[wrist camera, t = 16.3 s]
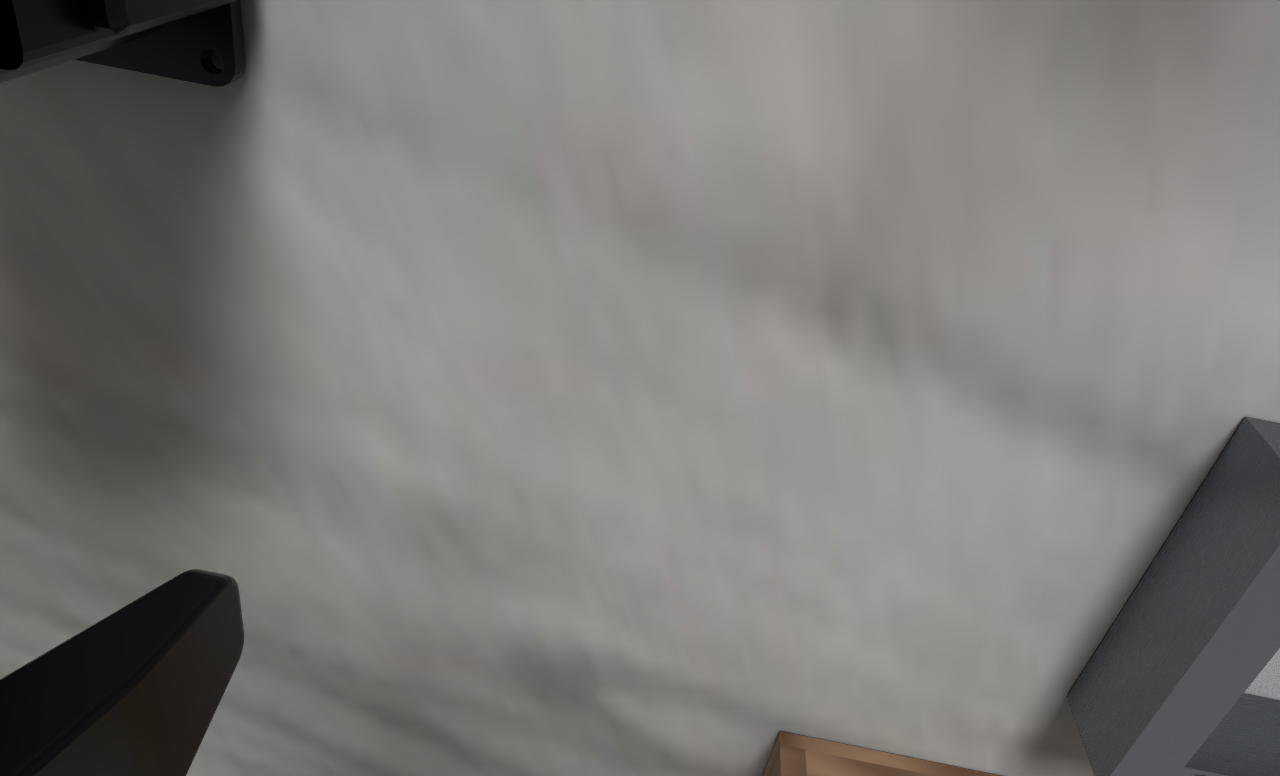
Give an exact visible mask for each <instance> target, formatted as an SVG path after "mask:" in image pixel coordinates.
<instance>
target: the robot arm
mask: <svg viewBox="0 0 1280 776" xmlns="http://www.w3.org/2000/svg"><path fill="white" fill-rule="evenodd" d="M211 49H212V50H214V51H217V52H218V53H219V54H220V56H221V57H222V59H223V62H224V69H223V70H221V69H219V68H217V67H216V66H215V65H214V64H213V62H212V60H211V57H210V53H211ZM74 59H75V60H81V61H86V62H91V63H96V64H101V65H107V66H112V67H117V68H122V69H127V70H132V71H138V72H143V73H148V74H153V75H158V76H164V77H169V78H174V79H179V80H184V81H189V82H195V83H200V84H205V85H210V86H225V85H227V84H229V83H231V82H234V81H235V80H237V79H239V78H240V77H241V76H242V74H243V72H244V69H245V54H244V41H243V29H242V17H241V4H240V0H0V83H1V82H4V81H8V80H11V79H14V78H17V77H20V76H23V75H26V74H30V73H33V72H36V71H39V70H42V69H45V68H49V67H52V66H55V65H58V64H61V63H64V62H67V61H71V60H74ZM243 644H244V629H243V621H242V612H241V604H240V596H239V589H238V585H237V582H236V581H235V580H234V578H233V577H230V576H228V575H223V574H219V573H214V572H209V571H204V570H197V569H194V570H189V571H186V572H183V573H181V574H179V575H178V576H176V577H174V578H173V579H171V580H169V581H168V582H166V583H164V584H162V585H161V586H159V587H157V588H156V589H154V590H152V591H150V592H149V593H147V594H145V595H144V596H142V597H140V598H138V599H137V600H135V601H133V602H132V603H130V604H128V605H127V606H125V607H123V608H121V609H120V610H118V611H116V612H115V613H113V614H111V615H109V616H108V617H106V618H104V619H103V620H101V621H99V622H97V623H96V624H94V625H92V626H91V627H89V628H87V629H85V630H84V631H82V632H80V633H79V634H77V635H75V636H74V637H72V638H70V639H68V640H67V641H65V642H63V643H62V644H60V645H58V646H56V647H55V648H53V649H51V650H50V651H48V652H46V653H44V654H43V655H41V656H39V657H38V658H36V659H34V660H33V661H31V662H29V663H27V664H26V665H24V666H22V667H21V668H19V669H17V670H15V671H14V672H12V673H10V674H9V675H7V676H5V677H3V678H2V679H0V776H186V774H187V772H188V770H189V768H190V766H191V764H192V761H193V759H194V757H195V755H196V753H197V750H198V748H199V746H200V744H201V742H202V740H203V737H204V735H205V733H206V731H207V729H208V727H209V724H210V722H211V720H212V718H213V716H214V713H215V711H216V709H217V707H218V705H219V703H220V700H221V698H222V696H223V694H224V692H225V690H226V687H227V685H228V683H229V681H230V679H231V677H232V674H233V672H234V670H235V668H236V666H237V663H238V661H239V659H240V656H241V653H242V649H243ZM1193 776H1206V775H1198V774H1196V775H1193Z"/></svg>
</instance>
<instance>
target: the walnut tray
mask: <svg viewBox="0 0 1280 776" xmlns="http://www.w3.org/2000/svg"><path fill="white" fill-rule="evenodd" d="M763 776H1000V775H995V774H990V773H985V772H980V771H975V770H970V769H965V768H960V767H955V766H950V765H946V764H941V763H936V762H931V761H926V760H921V759H916V758H911V757H906V756H901V755H896V754H891V753H887V752H882V751H877V750H872V749H867V748H862V747H857V746H852V745H847V744H842V743H837V742H832V741H828V740H823V739H818V738H813V737H808V736H803V735H798V734H793V733H788V732H783V731H780V732H779V735H778V737H777V740H776V743H775V745H774V748H773V750H772V753H771V756H770V758H769V761H768V763H767V766H766V769H765V771H764V774H763Z"/></svg>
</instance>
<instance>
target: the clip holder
mask: <svg viewBox="0 0 1280 776" xmlns="http://www.w3.org/2000/svg"><path fill="white" fill-rule="evenodd" d="M1279 648H1280V423H1275V422H1270V421H1265V420H1260V419H1255V418H1250V417H1245V418H1244V420H1243V421H1242V423H1241V425H1240V426H1239V428H1238V429H1237V431H1236V432H1235V434H1234V436H1233V437H1232V439H1231V440H1230V442H1229V443H1228V445H1227V446H1226V448H1225V450H1224V451H1223V453H1222V454H1221V456H1220V457H1219V459H1218V461H1217V462H1216V464H1215V465H1214V467H1213V468H1212V470H1211V472H1210V473H1209V475H1208V476H1207V478H1206V479H1205V481H1204V482H1203V484H1202V486H1201V487H1200V489H1199V490H1198V492H1197V493H1196V495H1195V497H1194V498H1193V500H1192V501H1191V503H1190V504H1189V506H1188V508H1187V509H1186V511H1185V512H1184V514H1183V515H1182V517H1181V518H1180V520H1179V522H1178V523H1177V525H1176V526H1175V528H1174V529H1173V531H1172V533H1171V534H1170V536H1169V537H1168V539H1167V540H1166V542H1165V544H1164V545H1163V547H1162V548H1161V550H1160V551H1159V553H1158V554H1157V556H1156V558H1155V559H1154V561H1153V562H1152V564H1151V565H1150V567H1149V569H1148V570H1147V572H1146V573H1145V575H1144V576H1143V578H1142V580H1141V581H1140V583H1139V584H1138V586H1137V587H1136V589H1135V590H1134V592H1133V594H1132V595H1131V597H1130V598H1129V600H1128V601H1127V603H1126V605H1125V606H1124V608H1123V609H1122V611H1121V612H1120V614H1119V615H1118V617H1117V619H1116V620H1115V622H1114V623H1113V625H1112V626H1111V628H1110V630H1109V631H1108V633H1107V634H1106V636H1105V637H1104V639H1103V641H1102V642H1101V644H1100V645H1099V647H1098V648H1097V650H1096V651H1095V653H1094V655H1093V656H1092V658H1091V659H1090V661H1089V662H1088V664H1087V666H1086V667H1085V669H1084V670H1083V672H1082V673H1081V675H1080V677H1079V678H1078V680H1077V681H1076V683H1075V684H1074V686H1073V687H1072V689H1071V691H1070V692H1069V694H1068V695H1067V699H1068V702H1069V704H1070V707H1071V710H1072V713H1073V716H1074V719H1075V721H1076V724H1077V727H1078V730H1079V733H1080V736H1081V738H1082V741H1083V744H1084V747H1085V750H1086V752H1087V755H1088V758H1089V761H1090V764H1091V767H1092V769H1093V772H1094V775H1095V776H1193V775H1196V774H1198V775H1206V776H1280V701H1279V700H1274V699H1269V698H1264V697H1259V696H1254V695H1249V694H1244V692H1245V690H1246V689H1247V688H1248V687H1249V685H1250V684H1251V683H1252V682H1253V681H1254V679H1255V678H1256V677H1257V676H1258V674H1259V673H1260V672H1261V671H1262V669H1263V668H1264V667H1265V666H1266V664H1267V663H1268V662H1269V661H1270V659H1271V658H1272V657H1273V656H1274V654H1275V653H1276V652H1277V651H1278V649H1279Z"/></svg>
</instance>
